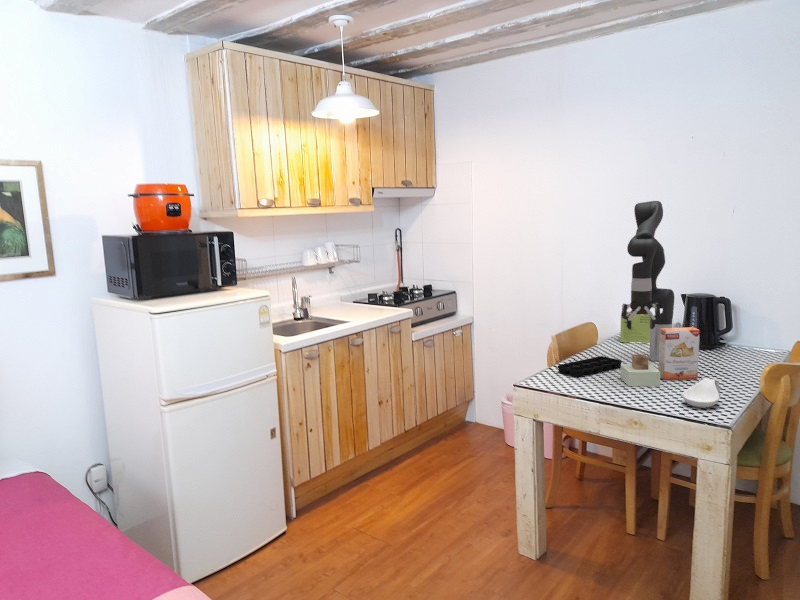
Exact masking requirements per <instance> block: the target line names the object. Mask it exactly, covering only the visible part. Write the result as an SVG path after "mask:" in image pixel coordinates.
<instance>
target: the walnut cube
mask: <svg viewBox="0 0 800 600" xmlns="http://www.w3.org/2000/svg"><path fill="white" fill-rule="evenodd" d="M649 360H650V356H648V355H646V354H643V353H642V354H631V364H632V367H633V368H634V369H635V370H648V364H649Z"/></svg>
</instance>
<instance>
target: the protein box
mask: <svg viewBox="0 0 800 600" xmlns="http://www.w3.org/2000/svg"><path fill="white" fill-rule="evenodd" d="M629 313H630V311H627V316H628V315H629ZM651 313H652V314H653V312H652V311H651ZM619 336H620V342H644V343H650V317H649V315H648V314H640V315H637V314H636V315H635V316H634V317H633V318H632V319H631V330H629V329H628V328H627V320H626V319H623V318H622V312H621V314H620V335H619Z"/></svg>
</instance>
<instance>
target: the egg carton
mask: <svg viewBox="0 0 800 600" xmlns="http://www.w3.org/2000/svg"><path fill="white" fill-rule="evenodd" d="M622 363H623V360H620V359H616V358H611V357H609V356H604V355H600V356H595V357H590V358H585V359H580V360H576V361H572V362H568V363H567V362H566V363H562V364H558V365H557V369H558V373H559V374H561V375H562V374H563V375H569V376H570V377H571V376H572V378H575V377H577V379H580V378H583V376H584V377H585V376H586V375H588V376H592V375H594V374H601V372H602V373H603V372H610V371H612V370H619V369H621V364H622ZM618 368H619V369H618ZM609 370H610V371H609ZM579 377H580V378H579Z"/></svg>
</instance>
